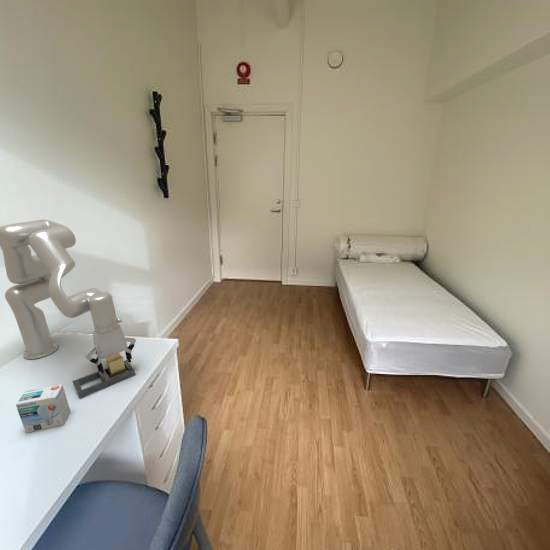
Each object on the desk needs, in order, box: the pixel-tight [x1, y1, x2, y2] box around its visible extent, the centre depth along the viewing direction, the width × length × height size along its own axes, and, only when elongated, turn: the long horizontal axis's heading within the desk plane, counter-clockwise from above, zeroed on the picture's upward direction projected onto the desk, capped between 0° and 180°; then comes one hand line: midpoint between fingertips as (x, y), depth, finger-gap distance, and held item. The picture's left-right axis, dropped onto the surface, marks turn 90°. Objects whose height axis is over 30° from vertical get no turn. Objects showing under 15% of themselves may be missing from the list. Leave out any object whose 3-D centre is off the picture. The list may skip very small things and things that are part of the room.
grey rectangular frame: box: [72, 359, 136, 400], centre depth 119 cm, size 9×19×2 cm, turn 131°
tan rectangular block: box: [104, 353, 127, 378], centre depth 121 cm, size 5×5×8 cm
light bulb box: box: [15, 383, 71, 434], centre depth 99 cm, size 11×7×11 cm, turn 105°
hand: (115, 366), depth 121 cm, fingers open, 9 cm apart
